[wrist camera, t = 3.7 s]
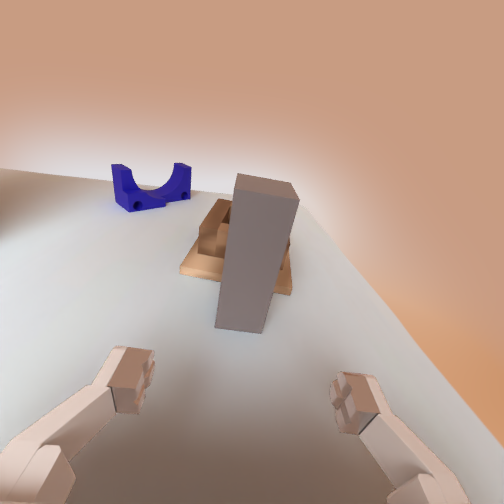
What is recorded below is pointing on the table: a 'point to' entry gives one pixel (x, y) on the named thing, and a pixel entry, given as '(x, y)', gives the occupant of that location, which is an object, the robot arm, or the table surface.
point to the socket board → (217, 269)
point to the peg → (254, 250)
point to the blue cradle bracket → (149, 199)
